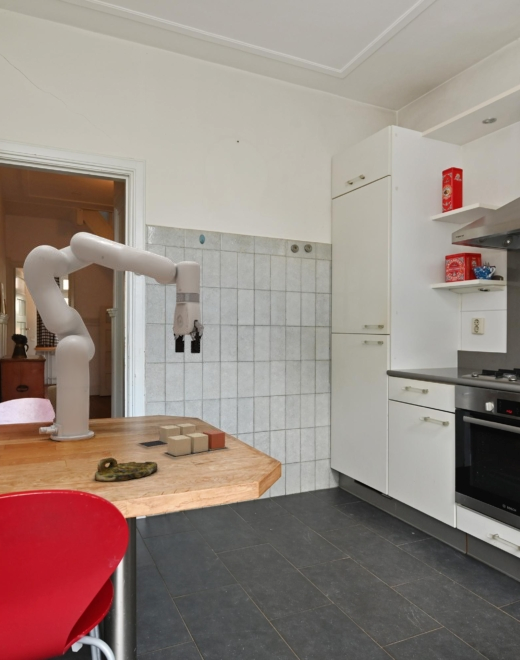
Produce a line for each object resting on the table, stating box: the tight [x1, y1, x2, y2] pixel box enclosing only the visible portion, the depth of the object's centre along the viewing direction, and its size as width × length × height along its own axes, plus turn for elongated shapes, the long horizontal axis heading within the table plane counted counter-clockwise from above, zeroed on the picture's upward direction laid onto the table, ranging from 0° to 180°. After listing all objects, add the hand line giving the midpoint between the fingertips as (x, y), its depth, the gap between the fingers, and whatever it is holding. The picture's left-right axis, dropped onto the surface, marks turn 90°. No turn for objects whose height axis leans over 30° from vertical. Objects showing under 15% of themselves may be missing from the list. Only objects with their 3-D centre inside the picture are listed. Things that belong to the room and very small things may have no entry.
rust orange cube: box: [202, 429, 226, 450], centre depth 134 cm, size 4×4×4 cm
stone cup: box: [47, 384, 57, 423], centre depth 169 cm, size 15×12×15 cm
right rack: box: [164, 432, 228, 458], centre depth 131 cm, size 17×6×5 cm, turn 130°
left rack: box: [138, 422, 197, 448], centre depth 142 cm, size 17×6×5 cm, turn 130°
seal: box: [94, 457, 158, 482], centre depth 108 cm, size 9×5×15 cm
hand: (187, 352), depth 154 cm, fingers open, 9 cm apart
